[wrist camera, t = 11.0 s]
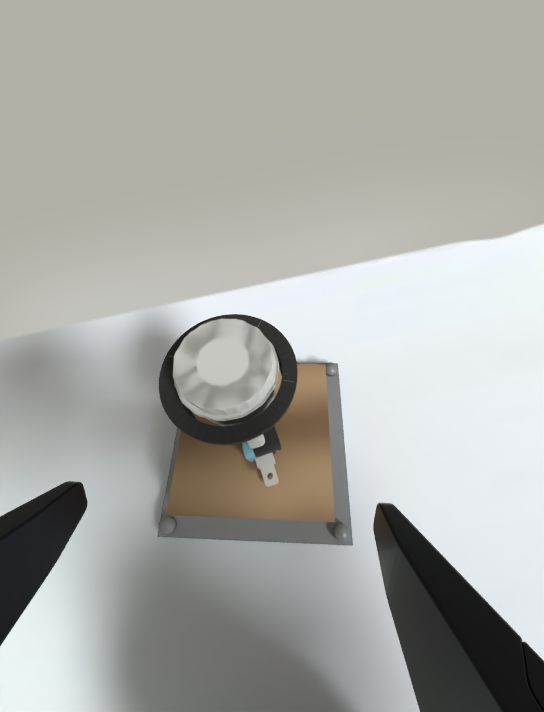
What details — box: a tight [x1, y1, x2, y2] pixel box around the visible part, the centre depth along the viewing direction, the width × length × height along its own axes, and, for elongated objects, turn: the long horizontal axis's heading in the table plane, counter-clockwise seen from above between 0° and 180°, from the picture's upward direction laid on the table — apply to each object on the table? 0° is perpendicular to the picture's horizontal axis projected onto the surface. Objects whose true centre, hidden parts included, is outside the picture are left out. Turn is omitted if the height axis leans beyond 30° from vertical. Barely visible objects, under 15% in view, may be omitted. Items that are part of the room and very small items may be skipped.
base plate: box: [158, 363, 353, 545], centre depth 21 cm, size 13×13×2 cm
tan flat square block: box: [166, 364, 335, 522], centre depth 20 cm, size 10×10×3 cm
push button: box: [159, 314, 298, 487], centre depth 14 cm, size 7×5×10 cm
